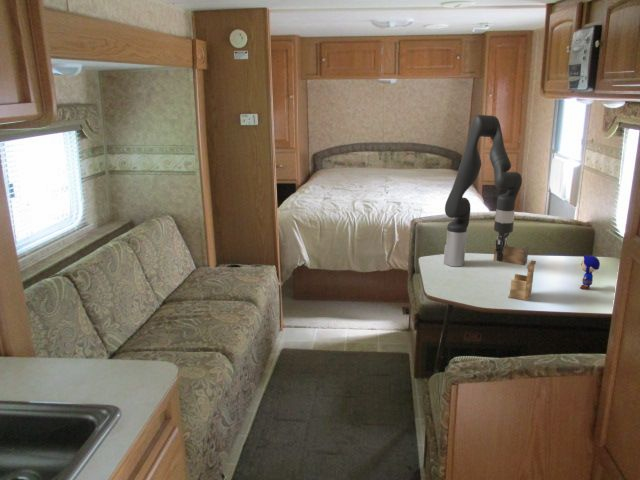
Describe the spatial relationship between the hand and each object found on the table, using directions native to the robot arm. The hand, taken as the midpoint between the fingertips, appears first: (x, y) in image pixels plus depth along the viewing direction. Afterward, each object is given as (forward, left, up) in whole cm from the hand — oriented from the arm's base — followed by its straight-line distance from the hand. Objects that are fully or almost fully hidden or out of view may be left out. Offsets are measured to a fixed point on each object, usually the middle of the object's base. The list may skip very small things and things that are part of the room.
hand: (500, 259), depth 231 cm
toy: (+33, +23, -15) cm, 43 cm away
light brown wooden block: (+4, 0, -1) cm, 4 cm away
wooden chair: (+9, 0, -15) cm, 17 cm away
